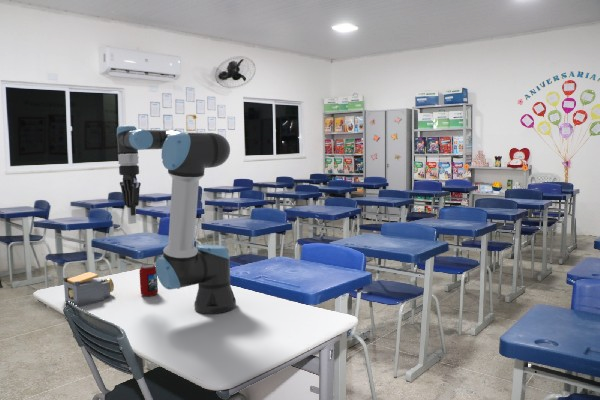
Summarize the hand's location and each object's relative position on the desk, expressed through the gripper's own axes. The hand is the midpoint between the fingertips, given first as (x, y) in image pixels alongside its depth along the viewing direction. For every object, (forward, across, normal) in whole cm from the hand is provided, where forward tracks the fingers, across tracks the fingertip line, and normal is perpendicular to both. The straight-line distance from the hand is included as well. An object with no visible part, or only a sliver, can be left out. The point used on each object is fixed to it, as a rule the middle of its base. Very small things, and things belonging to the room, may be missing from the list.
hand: (132, 223), depth 197 cm
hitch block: (+29, +8, +16) cm, 34 cm away
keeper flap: (+21, +8, +18) cm, 28 cm away
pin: (+28, +8, +15) cm, 33 cm away
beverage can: (+30, -5, -3) cm, 30 cm away
